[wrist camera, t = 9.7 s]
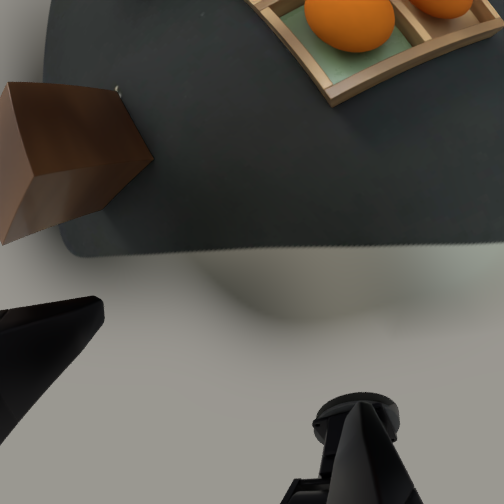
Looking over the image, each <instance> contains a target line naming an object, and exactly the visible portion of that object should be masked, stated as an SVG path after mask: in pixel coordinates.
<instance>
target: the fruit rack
mask: <svg viewBox="0 0 504 504" xmlns="http://www.w3.org/2000/svg"><path fill="white" fill-rule="evenodd" d="M244 1H245V2H246V3H247V4H248V5H249V6H250V7H251V8H252V9H253V10H254V11H255V12H256V13H257V14H258V15H259V16H260V18H261V19H262V20H263V21H264V22H265V23H266V24H267V25H268V26H269V27H270V29H271V30H272V31H273V32H274V33H275V34H276V35H277V37H278V38H279V39H280V40H281V41H282V43H283V44H284V45H285V46H286V47H287V49H288V50H289V51H290V52H291V53H292V55H293V56H294V57H295V58H296V60H297V61H298V62H299V64H300V65H301V66H302V67H303V69H304V70H305V71H306V73H307V74H308V75H309V77H310V78H311V79H312V81H313V82H314V84H315V85H316V86H317V88H318V89H319V91H320V92H321V93H322V95H323V96H324V98H325V99H326V101H327V102H328V104H329V105H330V107H331V108H333V107H335V106H337V105H338V104H340V103H342V102H344V101H346V100H348V99H350V98H352V97H353V96H355V95H357V94H359V93H361V92H363V91H365V90H367V89H369V88H371V87H373V86H375V85H377V84H379V83H381V82H383V81H385V80H387V79H389V78H391V77H393V76H396V75H398V74H400V73H402V72H404V71H406V70H408V69H411V68H413V67H415V66H417V65H420V64H422V63H424V62H427V61H429V60H431V59H434V58H436V57H439V56H441V55H443V54H446V53H448V52H451V51H454V50H456V49H459V48H461V47H464V46H467V45H469V44H472V43H475V42H478V41H481V40H484V39H487V38H490V37H492V36H493V35H494V34H496V33H497V32H498V31H500V30H501V29H502V28H504V21H503V20H502V19H501V18H500V16H499V15H498V13H497V12H496V11H495V9H494V8H493V7H492V5H491V4H490V3H489V2H488V0H473V2H472V6H471V8H470V9H469V11H468V12H467V13H466V14H464V15H463V16H461V17H458V18H454V19H442V18H437V17H434V16H431V15H428V14H426V13H424V12H423V11H421V10H419V9H418V8H417V7H415V6H414V5H413V4H412V3H411V2H410V1H409V0H389V1H390V3H391V5H392V7H393V10H394V15H395V25H394V29H393V32H392V34H391V36H390V37H389V39H388V40H387V41H386V42H385V43H384V44H382V45H381V46H379V47H378V48H376V49H373V50H371V51H366V52H347V51H342V50H339V49H336V48H334V47H332V46H330V45H328V44H326V43H325V42H323V41H322V40H321V39H320V38H319V37H318V36H317V35H316V34H315V33H314V32H313V31H312V29H311V28H310V26H309V24H308V22H307V20H306V17H305V12H304V4H305V0H244Z"/></svg>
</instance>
